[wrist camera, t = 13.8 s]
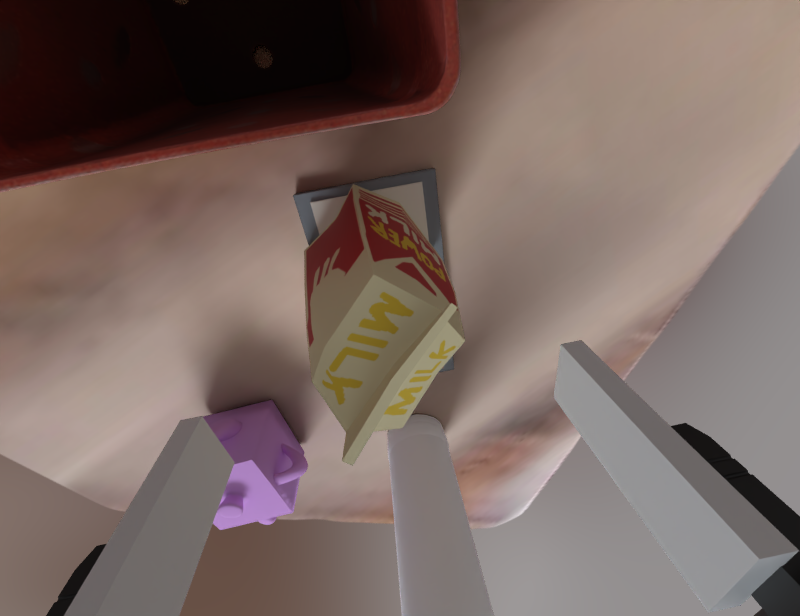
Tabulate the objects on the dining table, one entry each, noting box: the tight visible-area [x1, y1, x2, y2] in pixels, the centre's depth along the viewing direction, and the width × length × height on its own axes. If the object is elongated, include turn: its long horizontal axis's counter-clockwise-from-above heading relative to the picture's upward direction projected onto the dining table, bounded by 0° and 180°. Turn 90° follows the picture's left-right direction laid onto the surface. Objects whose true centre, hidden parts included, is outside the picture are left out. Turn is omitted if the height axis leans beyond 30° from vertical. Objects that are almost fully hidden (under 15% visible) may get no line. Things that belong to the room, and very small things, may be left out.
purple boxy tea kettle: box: [203, 400, 308, 530], centre depth 36 cm, size 18×14×10 cm
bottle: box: [388, 414, 494, 616], centre depth 31 cm, size 8×8×30 cm
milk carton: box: [304, 184, 465, 466], centre depth 20 cm, size 9×9×20 cm
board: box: [293, 168, 454, 372], centre depth 32 cm, size 22×12×1 cm, turn 9°
